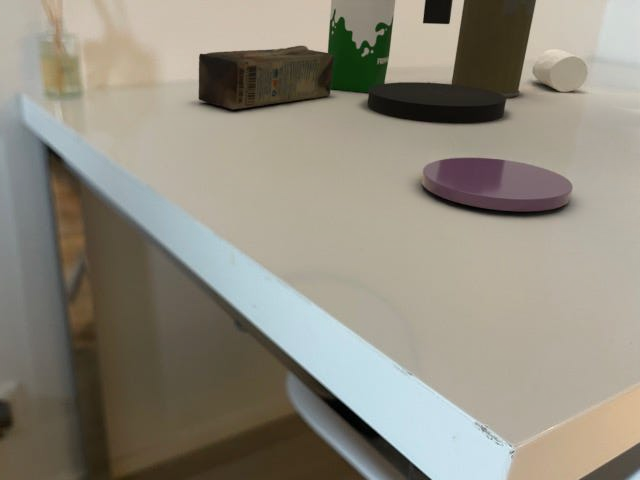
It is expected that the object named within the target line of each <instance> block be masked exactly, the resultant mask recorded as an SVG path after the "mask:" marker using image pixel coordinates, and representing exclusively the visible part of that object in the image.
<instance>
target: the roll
mask: <svg viewBox="0 0 640 480" xmlns="http://www.w3.org/2000/svg"><path fill="white" fill-rule="evenodd" d="M588 70H589V68H588V65H587V63H586V62H585V61H584V60H583V58H581V57H580V56H577V55H574V54H572V53H570V52H568V51H566V50H563V49H562V50H561V49H558V48H557V49H556V48H554V49H548V50H547V49H546V50H545V51H544V52H543V53H541V54H540V55H539V56H538V57H537V58H536V59H535V61H534V63H533V65H532V72H531V73H532V75H533V76H534V78H535V79H536V80H537V81H539V82H540V83H542V84H543V85H545V86H548V87H550V88H552V89H554V90H556V91H558V92H561V93H568V92H572V91H575V90H577V89H579V88H580V87H582V86H583V85H584V83H585V82H586V80H587V77H588V74H589V71H588Z"/></svg>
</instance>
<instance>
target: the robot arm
mask: <svg viewBox="0 0 640 480" xmlns="http://www.w3.org/2000/svg"><path fill="white" fill-rule="evenodd" d="M423 7H424V9H423V18H422V24H427V25H428V24H430V25H431V24H433V25H450V23H451V18H452V16H451V15H452V9H453V0H424V6H423Z"/></svg>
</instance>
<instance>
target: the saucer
mask: <svg viewBox="0 0 640 480" xmlns="http://www.w3.org/2000/svg"><path fill="white" fill-rule="evenodd" d="M421 185H422V186H423V187H424V188H425V189H426V190H427V191H429V192H430V193H432V194H434V195H436V196H438V197H441V198H443V199H445V200H448V201H451V202H454V203H458V204H462V205H465V206H469V207H476V208H480V209H486V210H487V209H488V210H495V211H505V212H542V211H549V210H550V211H551V210H554V209H558V208H561V207H563V206H565V205H567V204H568V203H569V202H570V200H571V197H572V192H573V184H572V182H571V181H570V180H569V179H568V178H567V177H565V176H563V175H562V174H560V173H558V172H555V171H552V170H549V169H547V168H544V167H541V166H537V165H534V164H528V163H524V162H520V161H515V160H508V159H500V158H490V157H452V158H451V157H450V158H444V159H439V160H434V161H432V162H429V163H427V164H426V165H424V167H423V170H422V174H421Z"/></svg>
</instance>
